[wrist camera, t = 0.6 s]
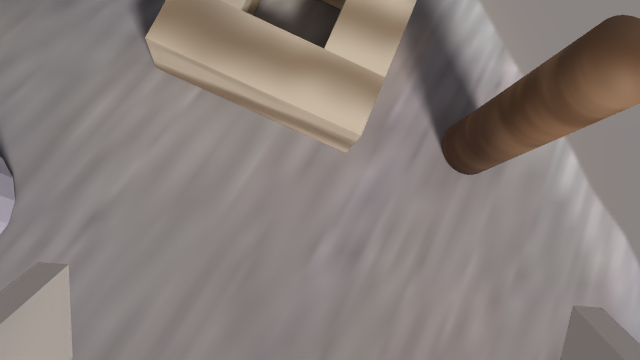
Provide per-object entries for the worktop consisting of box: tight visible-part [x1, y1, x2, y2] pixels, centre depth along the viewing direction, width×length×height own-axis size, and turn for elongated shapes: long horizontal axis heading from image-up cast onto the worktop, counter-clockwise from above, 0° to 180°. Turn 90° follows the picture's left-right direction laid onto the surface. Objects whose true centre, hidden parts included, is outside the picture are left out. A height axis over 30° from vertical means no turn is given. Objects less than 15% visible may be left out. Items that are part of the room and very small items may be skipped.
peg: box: [442, 15, 640, 175], centre depth 34 cm, size 4×4×18 cm
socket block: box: [145, 0, 417, 153], centre depth 39 cm, size 16×16×5 cm
